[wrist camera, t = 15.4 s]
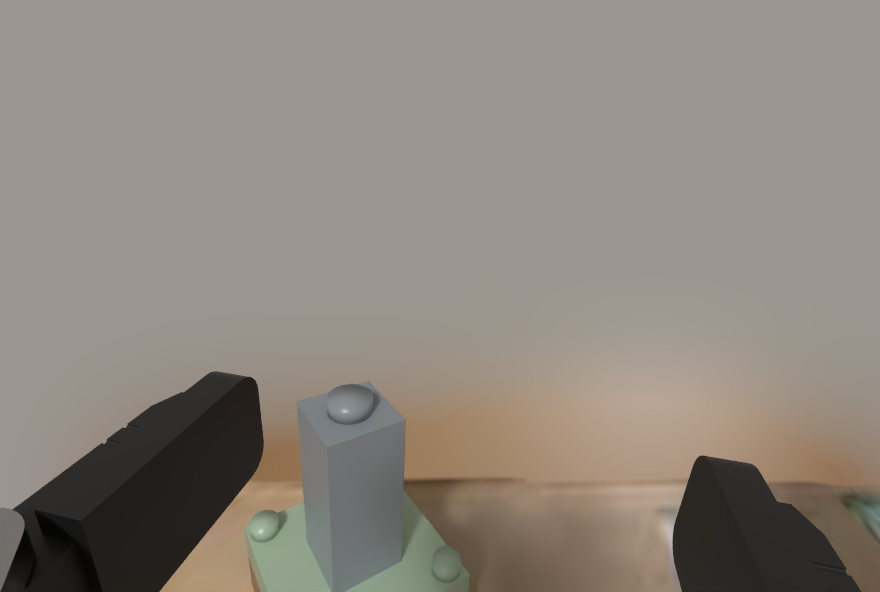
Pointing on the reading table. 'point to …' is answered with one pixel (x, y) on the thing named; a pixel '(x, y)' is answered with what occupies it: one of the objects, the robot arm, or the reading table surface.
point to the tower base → (397, 588)
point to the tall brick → (352, 482)
